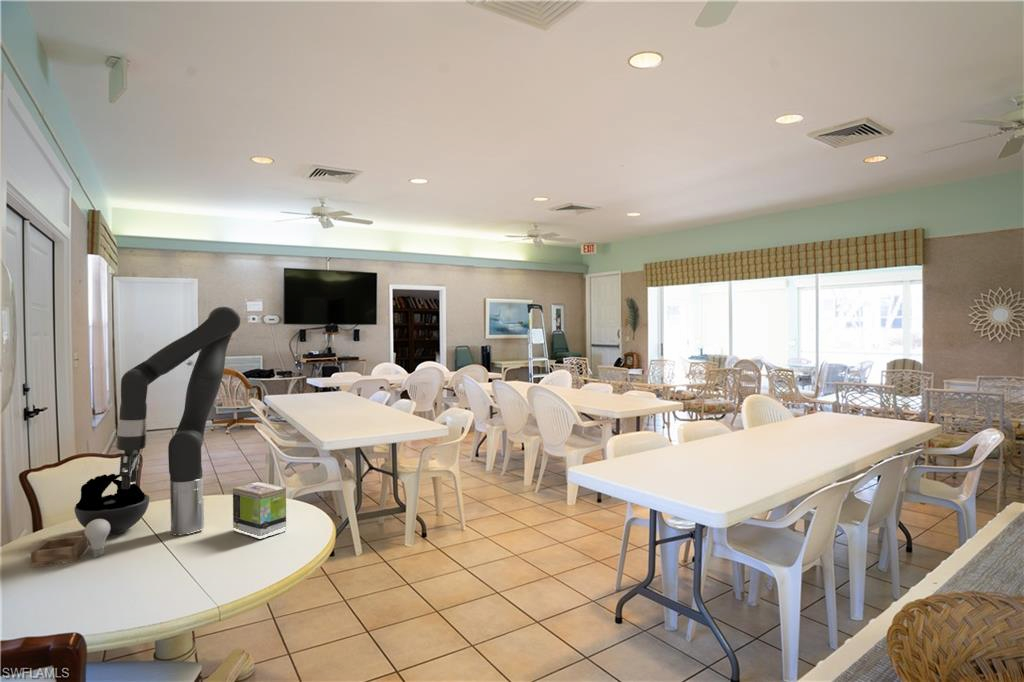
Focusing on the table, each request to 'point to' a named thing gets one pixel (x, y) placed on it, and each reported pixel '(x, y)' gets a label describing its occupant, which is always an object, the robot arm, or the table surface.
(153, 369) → the robot arm
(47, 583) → the table surface
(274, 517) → the tea box
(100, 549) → the lightbulb
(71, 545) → the wooden tray
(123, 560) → the table surface
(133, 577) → the table surface
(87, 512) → the coal bowl
